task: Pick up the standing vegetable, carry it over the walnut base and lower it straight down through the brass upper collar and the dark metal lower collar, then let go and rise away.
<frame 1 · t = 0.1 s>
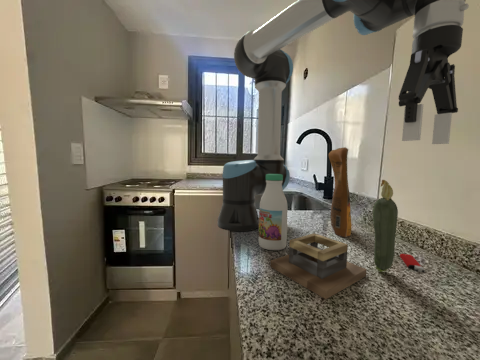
hand: (426, 142, 46), 28 cm above the countertop, tool pointing down, fingers open, 13 cm apart
collar stand: (316, 271, 48), on the countertop
pancake mix bag: (338, 230, 78), on the countertop
vegetable: (380, 273, 48), on the countertop
milk bottle: (272, 246, 63), on the countertop
lighter: (411, 266, 53), on the countertop
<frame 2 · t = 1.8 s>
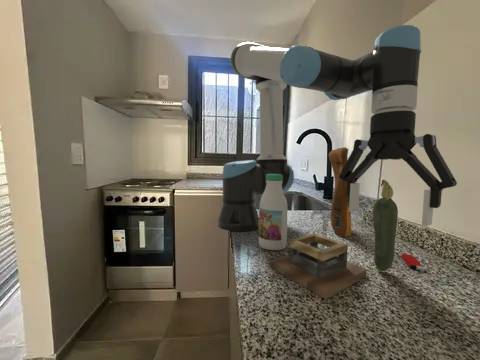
hand: (385, 217, 47), 12 cm above the countertop, tool pointing down, fingers open, 13 cm apart
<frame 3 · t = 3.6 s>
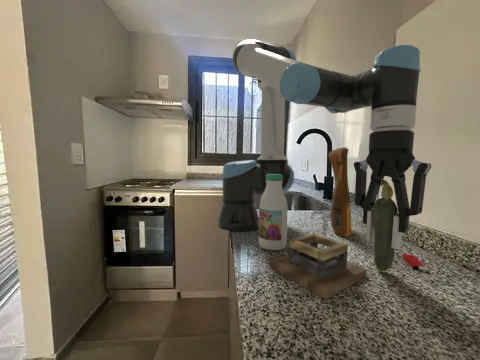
hand: (382, 242, 48), 7 cm above the countertop, tool pointing down, fingers closed on vegetable, 4 cm apart
vegetable: (380, 273, 48), on the countertop, touching gripper
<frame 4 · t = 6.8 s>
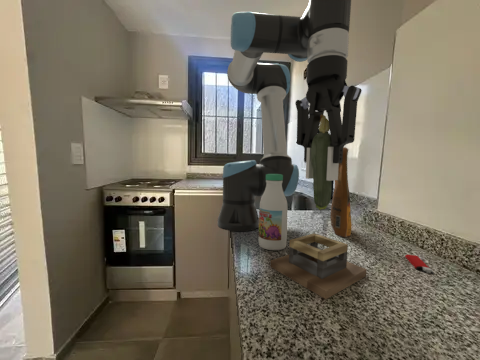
hand: (321, 179, 47), 20 cm above the countertop, tool pointing down, fingers closed on vegetable, 4 cm apart
vegetable: (319, 211, 47), point 13 cm above the countertop, touching gripper
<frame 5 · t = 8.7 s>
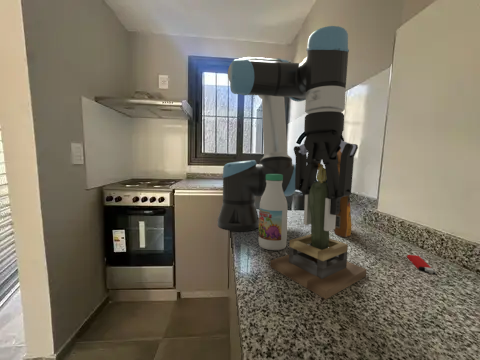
hand: (318, 226, 47), 10 cm above the countertop, tool pointing down, fingers closed on vegetable, 4 cm apart
vegetable: (317, 257, 48), point 3 cm above the countertop, touching gripper
when the fingers open (9 cm above the countertop, at t = 10.1 s): vegetable drops 2 cm, resting on collar stand.
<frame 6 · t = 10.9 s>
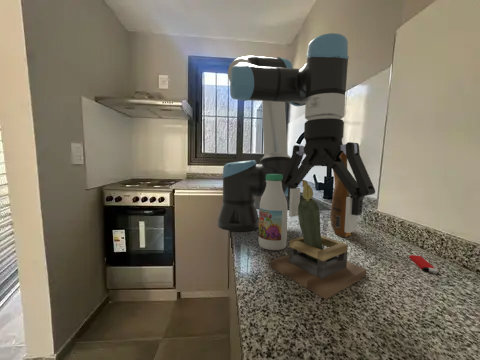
hand: (318, 222, 47), 11 cm above the countertop, tool pointing down, fingers open, 13 cm apart
vegetable: (314, 271, 49), resting on collar stand
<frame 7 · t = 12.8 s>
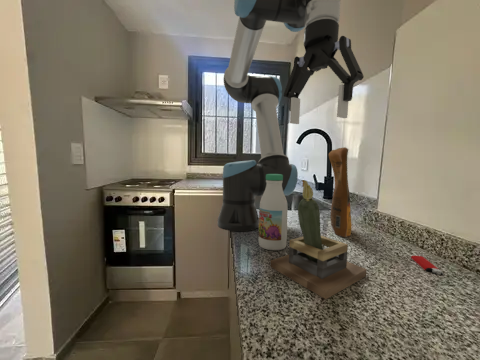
hand: (315, 121, 54), 33 cm above the countertop, tool pointing down, fingers open, 13 cm apart
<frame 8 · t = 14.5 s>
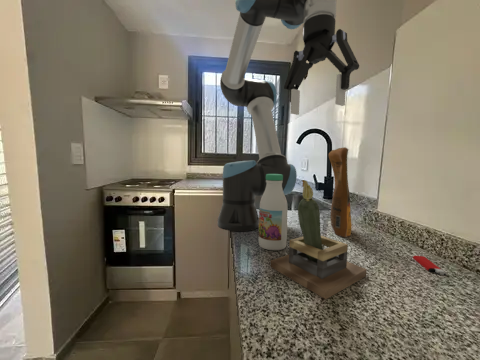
hand: (315, 110, 58), 37 cm above the countertop, tool pointing down, fingers open, 13 cm apart
at the end: vegetable 0.4 cm off-centre on the collar stand, point 0.0 cm above the collar stand's base; vegetable tilted 11°; the gripper is holding nothing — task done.
